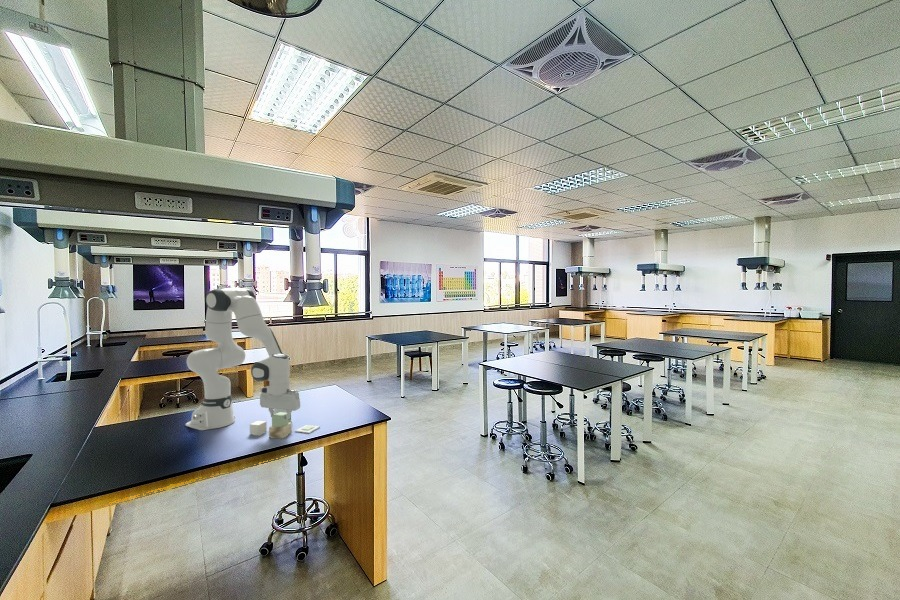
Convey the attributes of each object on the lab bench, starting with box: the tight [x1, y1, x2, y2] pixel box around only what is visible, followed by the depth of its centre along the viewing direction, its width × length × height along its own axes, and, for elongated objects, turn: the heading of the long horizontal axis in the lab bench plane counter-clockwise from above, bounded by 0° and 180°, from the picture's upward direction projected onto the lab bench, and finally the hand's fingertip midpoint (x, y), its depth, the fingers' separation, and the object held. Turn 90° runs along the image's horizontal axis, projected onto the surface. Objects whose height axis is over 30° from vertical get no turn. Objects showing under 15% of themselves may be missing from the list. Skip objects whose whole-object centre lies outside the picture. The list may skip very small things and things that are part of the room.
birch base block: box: [268, 421, 292, 439], centre depth 169 cm, size 7×7×5 cm
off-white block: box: [249, 420, 268, 436], centre depth 171 cm, size 5×5×5 cm
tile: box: [294, 424, 321, 434], centre depth 175 cm, size 8×8×1 cm
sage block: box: [271, 412, 290, 427], centre depth 169 cm, size 5×5×5 cm
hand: (280, 417), depth 169 cm, fingers open, 6 cm apart
